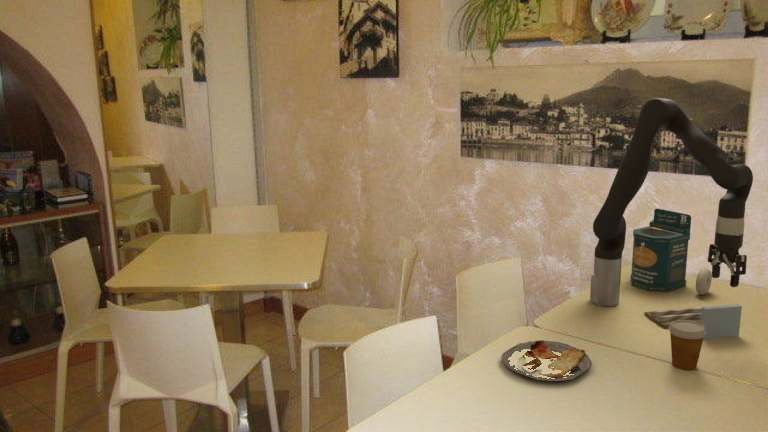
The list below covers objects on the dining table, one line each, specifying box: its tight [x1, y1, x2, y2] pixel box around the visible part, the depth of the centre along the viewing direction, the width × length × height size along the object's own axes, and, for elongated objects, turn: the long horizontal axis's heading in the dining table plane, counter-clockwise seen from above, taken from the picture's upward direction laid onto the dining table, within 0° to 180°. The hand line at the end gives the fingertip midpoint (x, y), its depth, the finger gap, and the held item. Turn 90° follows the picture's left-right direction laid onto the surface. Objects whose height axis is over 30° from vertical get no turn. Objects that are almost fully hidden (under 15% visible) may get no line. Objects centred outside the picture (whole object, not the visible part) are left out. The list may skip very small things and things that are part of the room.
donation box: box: [629, 208, 692, 293], centre depth 244 cm, size 16×16×28 cm
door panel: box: [701, 303, 743, 340], centre depth 198 cm, size 12×2×10 cm, turn 98°
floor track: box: [643, 306, 703, 329], centre depth 213 cm, size 26×12×2 cm, turn 98°
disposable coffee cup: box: [668, 320, 706, 371], centre depth 180 cm, size 10×10×12 cm
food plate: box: [500, 339, 593, 382], centre depth 183 cm, size 25×23×4 cm
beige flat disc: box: [695, 268, 713, 296], centre depth 234 cm, size 10×4×10 cm, turn 137°
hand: (724, 282), depth 195 cm, fingers open, 8 cm apart
